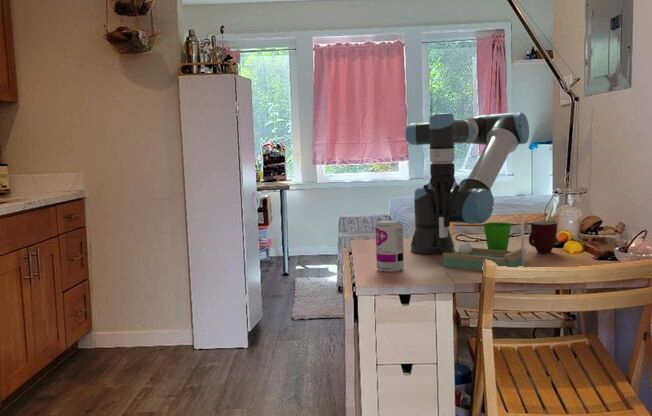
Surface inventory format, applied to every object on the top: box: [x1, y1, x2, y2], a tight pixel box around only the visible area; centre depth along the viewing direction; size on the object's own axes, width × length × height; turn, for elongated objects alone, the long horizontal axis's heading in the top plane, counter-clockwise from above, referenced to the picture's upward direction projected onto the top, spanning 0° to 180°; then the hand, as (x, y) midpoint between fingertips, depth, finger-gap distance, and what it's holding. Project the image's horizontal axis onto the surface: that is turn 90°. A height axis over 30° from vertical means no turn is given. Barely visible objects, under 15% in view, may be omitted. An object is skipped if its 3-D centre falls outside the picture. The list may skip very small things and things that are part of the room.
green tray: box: [442, 247, 526, 272], centre depth 180 cm, size 21×12×5 cm, turn 49°
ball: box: [458, 241, 473, 255], centre depth 184 cm, size 4×4×4 cm
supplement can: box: [375, 219, 405, 273], centre depth 181 cm, size 8×8×15 cm
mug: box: [528, 220, 558, 255], centre depth 196 cm, size 10×8×10 cm
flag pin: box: [520, 221, 528, 267], centre depth 174 cm, size 2×4×14 cm, turn 139°
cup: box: [482, 221, 512, 251], centre depth 192 cm, size 9×9×11 cm
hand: (443, 236), depth 188 cm, fingers closed
